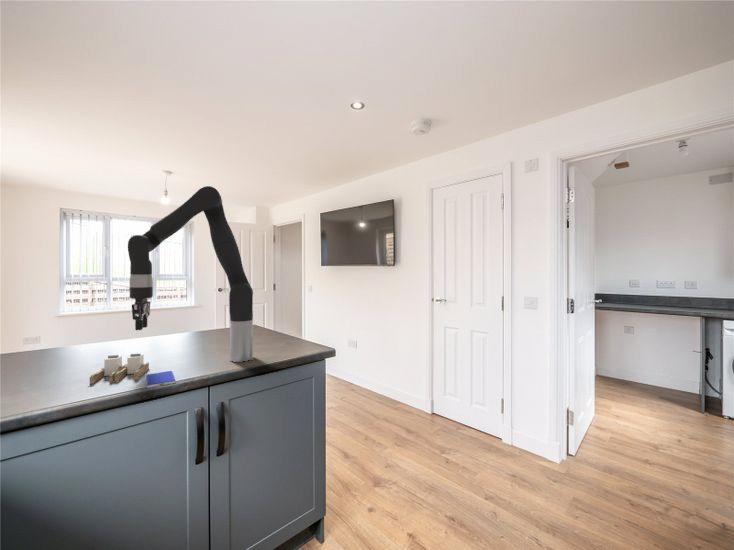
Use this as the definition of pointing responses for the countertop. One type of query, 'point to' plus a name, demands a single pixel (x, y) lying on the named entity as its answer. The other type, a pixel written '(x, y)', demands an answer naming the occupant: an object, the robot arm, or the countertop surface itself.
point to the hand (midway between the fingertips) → (141, 328)
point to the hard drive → (160, 379)
